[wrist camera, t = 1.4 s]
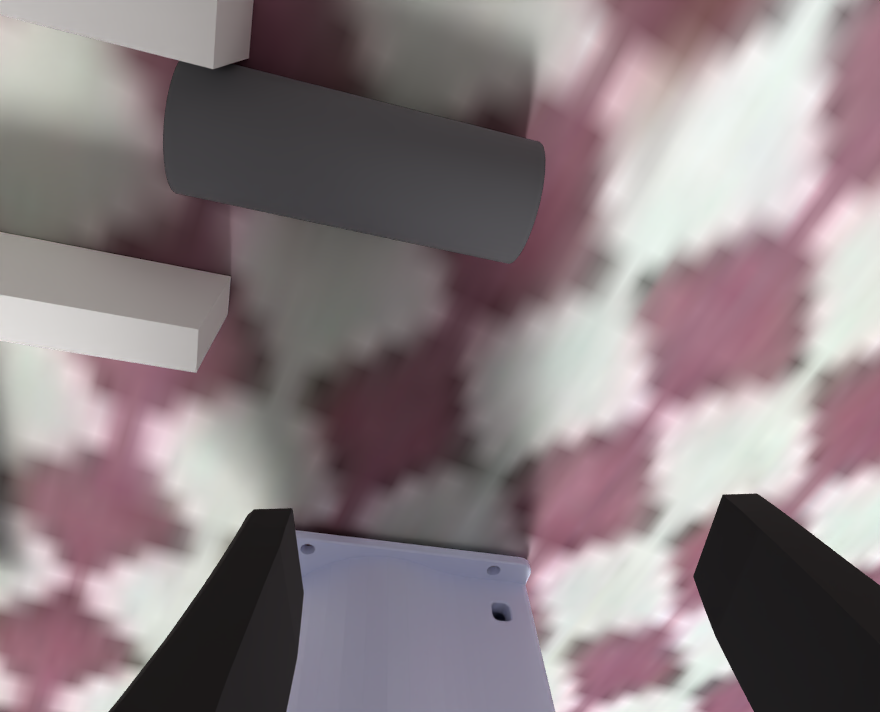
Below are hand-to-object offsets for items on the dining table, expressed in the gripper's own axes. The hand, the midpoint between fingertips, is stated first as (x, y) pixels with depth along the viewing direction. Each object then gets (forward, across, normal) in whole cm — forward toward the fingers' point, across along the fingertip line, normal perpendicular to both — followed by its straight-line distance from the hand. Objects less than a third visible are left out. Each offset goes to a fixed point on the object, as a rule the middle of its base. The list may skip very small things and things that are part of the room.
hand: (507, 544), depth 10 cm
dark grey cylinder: (+8, +3, -3) cm, 9 cm away
